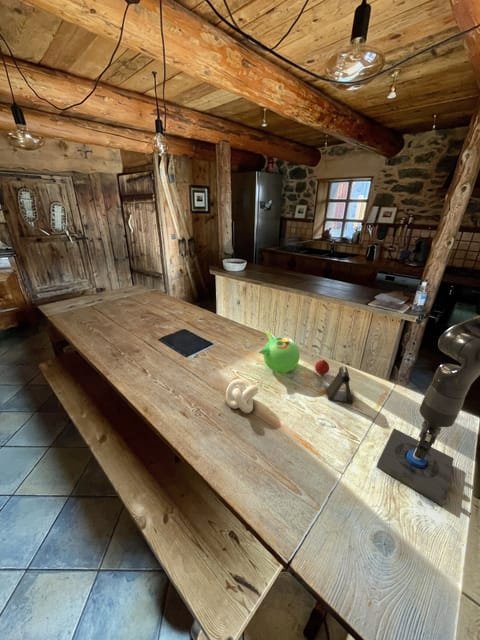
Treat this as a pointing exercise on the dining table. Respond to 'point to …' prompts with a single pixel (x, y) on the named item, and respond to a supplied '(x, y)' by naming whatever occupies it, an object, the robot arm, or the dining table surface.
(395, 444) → the dark rectangular plate
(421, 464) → the sink plug
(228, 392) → the cream knot sculpture
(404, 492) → the dining table surface
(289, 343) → the toy bird
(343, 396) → the phone stand
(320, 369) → the strawberry
